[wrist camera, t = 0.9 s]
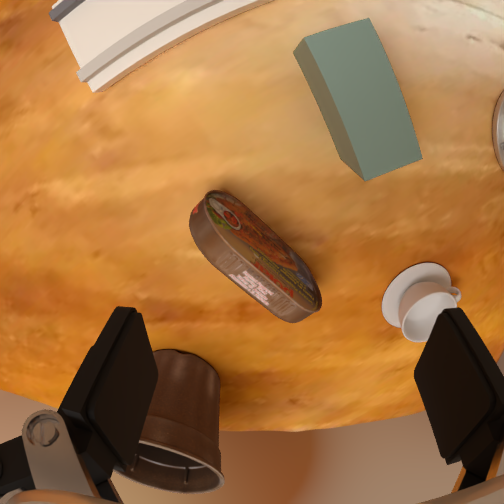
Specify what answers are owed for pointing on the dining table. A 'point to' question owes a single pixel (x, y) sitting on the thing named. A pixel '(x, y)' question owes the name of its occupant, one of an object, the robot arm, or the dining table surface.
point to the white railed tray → (134, 31)
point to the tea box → (359, 98)
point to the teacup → (419, 299)
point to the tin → (254, 257)
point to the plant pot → (180, 428)
